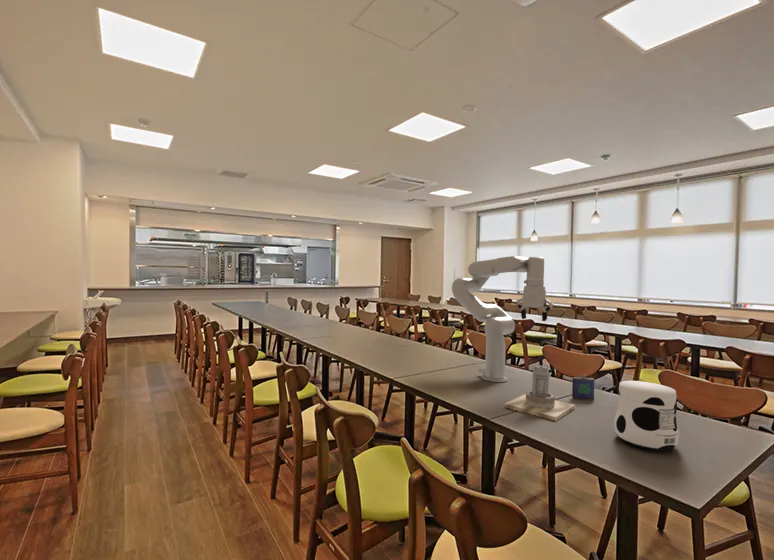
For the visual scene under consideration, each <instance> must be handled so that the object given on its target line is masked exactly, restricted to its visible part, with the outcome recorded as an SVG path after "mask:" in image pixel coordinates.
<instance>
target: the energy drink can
mask: <svg viewBox="0 0 774 560" xmlns="http://www.w3.org/2000/svg"><path fill="white" fill-rule="evenodd" d="M549 379H550V371H549V369H548V367H547V366H545V365H537V364H536V365H534V368H533V369H532V385H531V386H532V388H531V391H532V395H533V396H536V397H544V398H546V397H548V392H549V383H550V380H549Z"/></svg>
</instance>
